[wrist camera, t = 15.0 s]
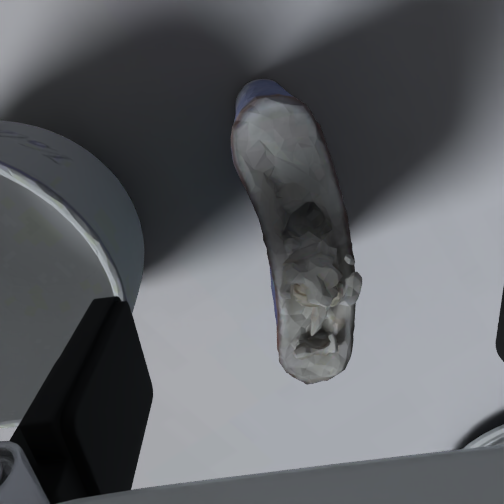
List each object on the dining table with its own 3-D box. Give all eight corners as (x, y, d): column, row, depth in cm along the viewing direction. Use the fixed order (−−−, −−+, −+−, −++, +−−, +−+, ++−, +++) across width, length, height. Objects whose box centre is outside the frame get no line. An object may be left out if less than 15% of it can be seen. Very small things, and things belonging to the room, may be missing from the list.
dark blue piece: (228, 85, 18) (214, 114, 9) (295, 69, 18) (359, 81, 8) (269, 272, 22) (293, 441, 12) (326, 261, 22) (395, 423, 12)
